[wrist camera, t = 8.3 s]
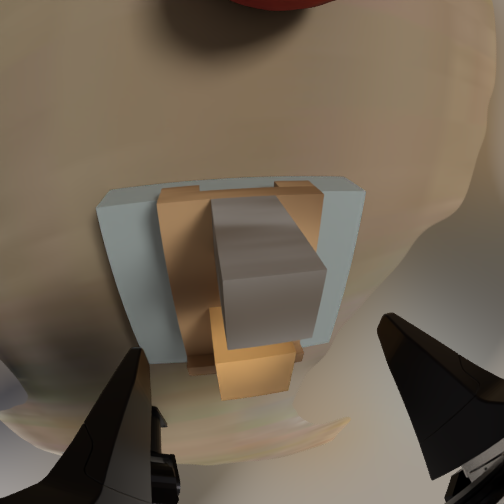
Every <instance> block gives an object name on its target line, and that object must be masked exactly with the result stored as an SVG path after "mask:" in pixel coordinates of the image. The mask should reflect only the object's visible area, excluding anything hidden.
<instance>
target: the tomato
mask: <svg viewBox="0 0 504 504" xmlns="http://www.w3.org/2000/svg"><path fill="white" fill-rule="evenodd" d="M230 1H233V2H235V3H238V4H241V5H244V6H248V7H253V8H257V9H263V10H271V11H286V10H296V9H305V8H312V7H316V6H320V5H323V4H326V3H329V2H331V1H335V0H230Z"/></svg>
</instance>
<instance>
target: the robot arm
mask: <svg viewBox="0 0 504 504" xmlns="http://www.w3.org/2000/svg"><path fill="white" fill-rule="evenodd" d="M377 334H378V337H379V340H380V343H381V346H382V349H383V352H384V355H385V358H386V361H387V364H388V366H389V369H390V371H391V373H392V375H393V378H394V380H395V382H396V385H397V387H398V390H399V392H400V394H401V397H402V399H403V401H404V404H405V407H406V409H407V412H408V414H409V417H410V420H411V422H412V425H413V428H414V430H415V433H416V436H417V438H418V441H419V443H420V447H421V450H422V453H423V456H424V459H425V462H426V465H427V468H428V471H429V474H430V477H431V480H434V479H437V478H439V477H441V476H443V475H445V474H447V473H449V472H450V471H452V470H454V469H456V468H458V467H460V466H461V467H462V469H460V470H459V471H458V472H456V473H455V474H454V475H452V476H451V480H450V483H449V486H448V489H447V492H446V494H445V501H446V503H445V504H504V379H502V378H499V377H498V376H496V375H494V374H492V373H490V372H488V371H486V370H484V369H482V368H481V367H479V366H477V365H475V364H474V363H472V362H470V361H469V360H467V359H465V358H464V357H462V356H461V355H458V353H456V352H455V351H453V350H452V349H450V348H448V347H447V346H445V345H444V344H442V343H441V342H439V341H438V340H436V339H434V338H433V337H431V336H430V335H428V334H426V333H425V332H423V331H422V330H420V329H419V328H417V327H415V326H414V325H412V324H411V323H409V322H407V321H406V320H404V319H403V318H401V317H399V316H398V315H396V314H395V313H387V314H384V315H383V316H382V318H381V321H380V323H379V325H378V328H377ZM84 423H85V424H82V426H81V428H80V430H79V431H78V433H77V434H76V436H75V438H74V439H73V441H72V442H71V444H70V445H69V447H68V448H67V449H66V451H65V452H64V454H63V455H62V456H61V458H60V459H59V460H58V462H57V463H56V464H55V466H54V467H53V468H52V470H51V471H50V473H49V474H48V475H47V476H46V477H45V478H44V479H43V480H42V481H40V482H39V483H37V484H35V485H32V486H30V487H28V488H26V489H23V490H21V491H19V492H16V493H14V494H11V495H9V496H6V497H3V498H0V504H177V503H178V501H179V498H178V495H179V493H180V479H179V474H178V469H177V464H176V459H175V455H174V454H170V455H169V454H162V452H161V427H167V423H166V421H165V419H164V418H163V416H162V415H161V413H160V411H159V410H158V408H156V407H152V404H151V388H150V367H149V362H148V359H147V357H146V354H145V352H144V350H143V348H141V347H135V348H131V349H130V350H129V351H128V353H127V354H126V356H125V357H124V359H123V360H122V362H121V363H120V365H119V367H118V368H117V370H116V371H115V373H114V374H113V376H112V377H111V379H110V381H109V382H108V384H107V385H106V387H105V389H104V390H103V392H102V393H101V395H100V397H99V398H98V400H97V401H96V403H95V405H94V406H93V408H92V410H91V411H90V413H89V415H88V416H87V418H86V420H85V421H84Z"/></svg>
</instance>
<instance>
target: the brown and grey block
mask: <svg viewBox="0 0 504 504" xmlns="http://www.w3.org/2000/svg"><path fill="white" fill-rule="evenodd" d="M323 200H324V193H322V192H321V191H320V190H319V189H318V188H317V187H316V186H314V185H313V184H312V183H311V182H310V181H309V180H304V181H274V187H262V188H241V189H224V190H209V191H200V186H199V185H193V186H181V187H171V188H162V189H161V192H160V195H159V198H158V201H157V211H158V218H159V225H160V231H161V238H162V244H163V250H164V255H165V261H166V266H167V272H168V277H169V282H170V287H171V292H172V296H173V301H174V305H175V310H176V314H177V319H178V323H179V327H180V331H181V335H182V339H183V343H184V347H185V351H186V355H187V368H188V372H189V375H190V376H195V375H207V374H217V371H216V365H215V358H214V349H213V341H212V331H211V322H210V312H209V308H212V307H221V309H222V316H223V323H224V330H225V336H226V342H227V349H228V350H234V349H242V348H250V347H258V346H265V345H272V344H278V343H285V342H291V341H292V342H293V344H294V347H295V350H296V356H295V361H294V363H295V362H300V361H302V359H303V355H304V352H303V349H302V347H301V344H300V340H302V339H308V338H312V336H313V332H314V328H315V324H316V320H317V315H318V311H319V307H320V302H321V298H322V293H323V288H324V284H325V279H326V274H327V268H326V267H325V265H324V264H323V262H322V261H321V259H320V258H319V256H318V255H317V253H316V251H317V244H318V237H319V230H320V223H321V216H322V208H323Z"/></svg>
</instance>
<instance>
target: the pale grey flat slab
mask: <svg viewBox="0 0 504 504" xmlns="http://www.w3.org/2000/svg"><path fill="white" fill-rule="evenodd" d="M304 180H309V181H310V182H311V183H312V184H313V185H314V186H316V187H317V188H318V189H319V190H320V191H321V192H322V193H324V200H323V208H322V216H321V223H320V230H319V237H318V244H317V251H316V253H317V255H318V256H319V258H320V259H321V261H322V262H323V264H324V265H325V267H326V268H327V274H326V279H325V284H324V288H323V293H322V298H321V302H320V307H319V311H318V315H317V320H316V324H315V328H314V332H313V336H312V338H308V339H302V340H300V344H301V347H307V346H313V345H318V344H323V343H328V342H329V340H330V337H331V334H332V331H333V328H334V324H335V321H336V318H337V314H338V311H339V307H340V304H341V300H342V297H343V293H344V289H345V286H346V282H347V278H348V274H349V270H350V266H351V262H352V258H353V253H354V249H355V245H356V240H357V235H358V231H359V226H360V221H361V216H362V210H363V205H364V200H365V194H366V191H365V190H363V189H362V188H360V187H359V186H357V185H356V184H354V183H353V182H351V181H350V180H348V179H347V178H345V177H334V176H280V177H247V178H227V179H211V180H197V181H185V182H174V183H164V184H154V185H145V186H137V187H129V188H121V189H114V190H110V191H109V192H108V193H107V194H106V196H105V197H104V198H103V199H102V201H101V202H100V203H99V205H98V206H97V207H96V211H97V216H98V220H99V224H100V228H101V232H102V236H103V240H104V244H105V248H106V251H107V255H108V258H109V262H110V265H111V269H112V272H113V275H114V278H115V281H116V285H117V288H118V291H119V294H120V296H121V299H122V302H123V305H124V308H125V311H126V313H127V316H128V319H129V321H130V324H131V327H132V329H133V332H134V334H135V337H136V339H137V341H138V344H139V346H140V347H141V348H143V350H144V352H145V354H146V357H147V359H148V362H149V364H160V363H179V362H187V355H186V351H185V347H184V343H183V339H182V335H181V331H180V327H179V323H178V319H177V314H176V310H175V305H174V301H173V296H172V292H171V287H170V282H169V277H168V272H167V266H166V261H165V255H164V250H163V244H162V238H161V231H160V225H159V218H158V211H157V201H158V198H159V195H160V192H161V189H162V188H171V187H181V186H193V185H199V186H200V191H209V190H224V189H241V188H262V187H274V181H304Z"/></svg>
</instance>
